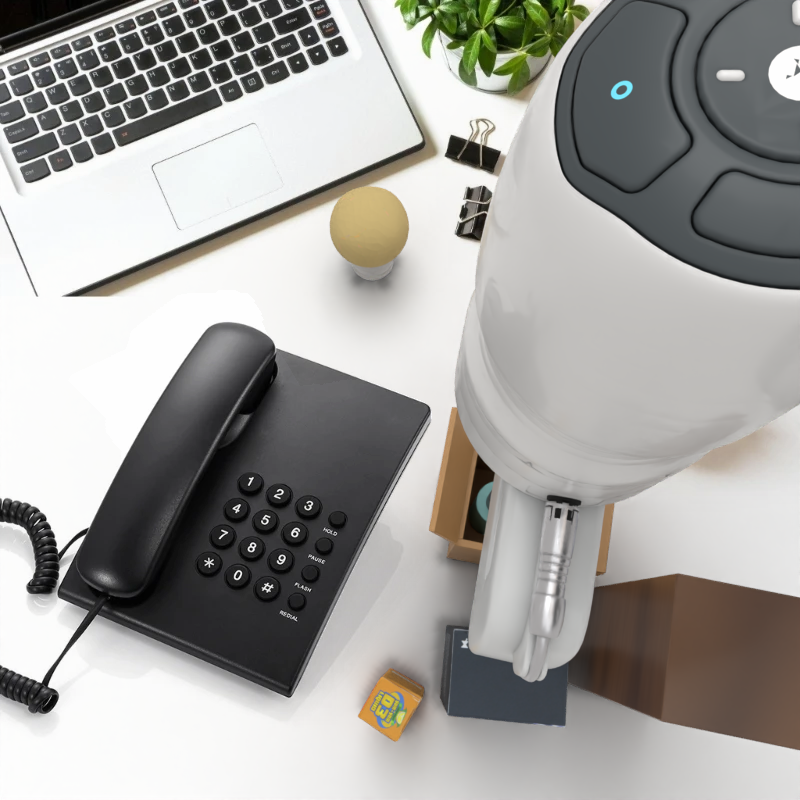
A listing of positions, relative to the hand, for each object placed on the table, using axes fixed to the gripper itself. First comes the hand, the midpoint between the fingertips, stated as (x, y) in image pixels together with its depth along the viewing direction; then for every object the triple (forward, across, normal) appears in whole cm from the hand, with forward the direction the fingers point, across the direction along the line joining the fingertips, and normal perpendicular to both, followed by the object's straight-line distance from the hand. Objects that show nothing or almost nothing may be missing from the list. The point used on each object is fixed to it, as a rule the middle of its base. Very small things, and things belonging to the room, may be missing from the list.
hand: (526, 453), depth 41 cm
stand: (+25, -8, -12) cm, 29 cm away
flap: (+11, 0, +3) cm, 11 cm away
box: (+25, -11, -3) cm, 28 cm away
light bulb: (+26, +20, +13) cm, 35 cm away
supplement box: (+26, -15, +4) cm, 30 cm away
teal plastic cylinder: (+25, 0, 0) cm, 25 cm away
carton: (+25, 0, -3) cm, 25 cm away
